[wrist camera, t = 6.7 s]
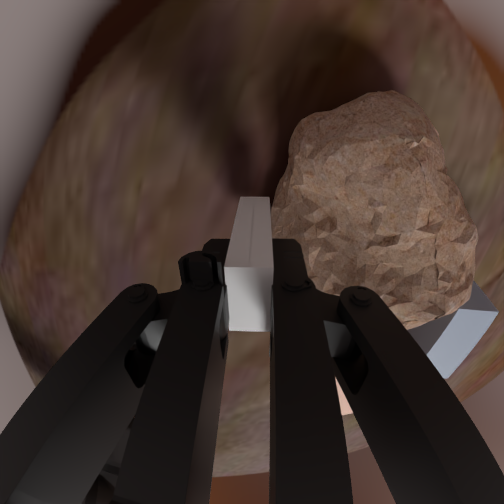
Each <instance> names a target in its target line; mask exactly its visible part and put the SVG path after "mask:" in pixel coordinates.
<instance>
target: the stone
mask: <svg viewBox="0 0 504 504" xmlns="http://www.w3.org/2000/svg"><path fill="white" fill-rule="evenodd" d="M447 170H448V169H447V168H446V166H445V156H444V150H443V147H442V145H441V143H440V139H439V133H438V131H437V130H436V129H435V128H434V126H433V125H432V123H431V121H430V120H429V118H428V117H427V116H426V114H425V113H424V111H423V109H422V108H421V107H420V106H419V105H418V104H417V103H416V102H415V101H413V100H412V99H411V98H408V97H406V96H404V95H401V94H400V93H398V92H396V91H394V90H389V91H385V92H381V91H377V92H369V93H366V94H364V95H362V96H360V97H359V98H357V99H355V100H353V101H350V102H348V103H345V104H343V105H341V106H339V107H337V108H336V109H333V110H331V111H324V112H315V113H313V114H311V115H309V116H307V117H305V118H303V119H301V121H300V122H299V123H298V125H297V126H296V128H295V129H294V132H293V134H292V136H291V139H290V142H289V158H288V166H287V168H286V171H285V173H284V175H283V176H282V178H281V179H280V181H279V184H278V186H277V188H276V192H275V197H274V200H273V204H272V208H271V230H272V238H279V239H295V240H296V241H297V242H298V243H299V244H301V248H302V253H303V256H304V261H305V265H306V269H307V273H308V278H310V279H311V280H312V281H313V282H314V284H315V286H316V289H318V290H320V291H322V292H325V293H328V294H333V295H338V296H340V293H341V291H342V290H343V289H344V288H347V287H350V286H363V287H367V288H369V289H371V290H373V291H374V292H375V293H377V294H378V295H379V296H380V298H381V299H382V300H383V301H384V302H385V304H386V305H387V306H388V307H389V308H390V310H391V311H392V312H393V313H394V314H395V316H396V317H397V318H398V319H399V321H400V322H401V323H402V324H403V326H404V327H405V328H406V329H407V330H408V329H412V328H415V327H418V326H421V325H423V324H425V323H428V322H430V321H432V320H435V319H438V318H440V317H442V316H446V315H449V314H452V313H453V312H455V311H456V310H457V309H458V308H459V307H460V306H462V305H463V304H465V303H466V302H467V301H468V300H469V299H470V296H471V291H472V284H473V280H474V272H475V247H476V244H477V241H478V235H477V229H476V226H475V224H474V222H473V221H472V219H471V217H470V216H469V214H468V212H467V210H466V207H465V204H464V201H463V198H462V195H461V192H460V190H459V188H458V187H457V185H456V184H455V182H454V181H453V179H451V178H450V177H449V176H448V175H447Z"/></svg>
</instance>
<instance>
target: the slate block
mask: <svg viewBox="0 0 504 504" xmlns="http://www.w3.org/2000/svg"><path fill="white" fill-rule="evenodd" d="M498 313H499V311H498V310H497V309H496V308H495V306H494V305H493V304H492V302H491V301H490V300H489V299H488V297H487V296H486V295H485V294H484V292H483V291H482V290H481V289H480V287H479V286H478V285H477V284H476V283H475V281H474V280H473V284H472V291H471V296H470V299H469V300H468V301H467V302H466V303H465V304H463V305H462V306H460V307H459V308H458V309H457V310H456V311H455V312H453V313H452V314H449V315H446V316H442V317H440V318H438V319H435V320H432V321H430V322H428V323H425V324H423V325H421V326H418V327H415V328H412V329H408V330H407V331H408V332H409V333H410V334H411V336H412V337H413V338H414V340H415V341H416V342H417V343H418V345H419V346H420V347H421V349H422V350H423V351H424V353H425V354H426V355H427V357H428V358H429V359H430V361H431V362H432V363H433V365H434V366H435V367H436V369H437V370H438V371H439V373H440V374H441V376H442V377H443V378H448V377H449V376H450V375H451V374H452V373H453V372H454V371H455V369H456V368H457V367H458V366H459V365H460V364H461V362H462V361H463V360H464V359H465V358H466V356H467V355H468V354H469V353H470V351H471V350H472V349H473V348H474V346H475V345H476V344H477V342H478V341H479V340H480V338H481V337H482V336H483V334H484V333H485V332H486V330H487V329H488V327H489V326H490V325H491V323H492V322H493V320H494V319H495V317H496V316H497V314H498Z"/></svg>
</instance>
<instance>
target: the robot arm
mask: <svg viewBox="0 0 504 504" xmlns="http://www.w3.org/2000/svg"><path fill="white" fill-rule="evenodd" d="M178 264H179V270H180V276H181V281H182V285H181V287H180V289H179V290H176V291H172V292H167V293H161V294H158V293H157V290H156V288H155V287H154V286H152V285H150V284H143V283H140V284H135V285H132V286H129V287H127V288H126V289H124V290H123V291H122V292H121V293H120V294H119V295H118V296H117V297H116V298H115V299H114V300H113V301H112V302H111V303H110V304H109V305H108V306H107V307H106V308H105V309H104V310H103V311H102V313H101V314H100V315H99V316H98V317H97V318H96V319H95V320H94V321H93V322H92V323H91V324H90V325H89V326H88V328H87V329H86V330H85V331H84V332H83V333H82V334H81V335H80V336H79V337H78V339H77V340H76V341H75V342H74V343H73V344H72V345H71V346H70V347H69V349H68V350H67V351H66V352H65V353H64V354H63V355H62V357H61V358H60V359H59V360H58V361H57V362H56V364H55V365H54V366H53V367H52V368H51V370H50V371H49V372H48V373H47V374H46V376H45V377H44V378H43V379H42V380H41V382H40V383H39V384H38V385H37V387H36V388H35V389H34V390H33V392H32V393H31V394H30V395H29V397H28V398H27V399H26V400H25V402H24V403H23V404H22V406H21V407H20V408H19V410H18V411H17V412H16V414H15V415H14V416H13V418H12V419H11V420H10V422H9V423H8V424H7V426H6V427H5V429H4V430H3V431H2V433H1V434H0V504H209V499H210V490H211V481H212V472H213V463H214V455H215V446H216V438H217V429H218V421H219V413H220V404H221V396H222V388H223V380H224V372H225V365H226V357H227V349H228V325H229V331H268V332H270V351H269V356H270V477H269V504H353V496H352V487H351V478H350V470H349V461H348V454H347V446H346V439H345V433H344V426H343V420H342V414H341V408H340V402H339V396H338V390H337V385H336V379H337V381H338V383H339V385H340V387H341V389H342V391H343V393H344V395H345V397H346V399H347V401H348V403H349V405H350V407H351V409H352V411H353V414H354V416H355V418H356V420H357V422H358V424H359V426H360V428H361V430H362V432H363V434H364V436H365V438H366V440H367V443H368V445H369V447H370V449H371V451H372V453H373V455H374V457H375V459H376V461H377V463H378V466H379V468H380V470H381V472H382V474H383V476H384V479H385V481H386V483H387V485H388V487H389V489H390V492H391V494H392V496H393V498H394V500H395V502H396V504H504V475H503V473H502V471H501V469H500V468H499V465H498V464H497V462H496V460H495V458H494V456H493V455H492V453H491V451H490V449H489V448H488V446H487V444H486V443H485V441H484V439H483V438H482V436H481V434H480V433H479V431H478V429H477V428H476V426H475V424H474V423H473V421H472V420H471V418H470V417H469V415H468V414H467V412H466V410H465V409H464V407H463V406H462V404H461V403H460V401H459V400H458V398H457V397H456V396H455V394H454V393H453V391H452V390H451V388H450V387H449V385H448V384H447V383H446V381H445V380H444V378H443V377H442V376H441V374H440V373H439V371H438V370H437V369H436V367H435V366H434V365H433V363H432V362H431V361H430V359H429V358H428V357H427V355H426V354H425V353H424V351H423V350H422V349H421V347H420V346H419V345H418V343H417V342H416V341H415V340H414V338H413V337H412V336H411V334H410V333H409V332H408V331H407V329H406V328H405V327H404V326H403V324H402V323H401V322H400V321H399V319H398V318H397V317H396V316H395V314H394V313H393V312H392V311H391V310H390V308H389V307H388V306H387V305H386V304H385V302H384V301H383V300H382V299H381V298H380V296H379V295H378V294H377V293H375V292H374V291H373V290H371V289H369V288H367V287H363V286H350V287H347V288H344V289H343V290H342V291H341V293H340V296H338V295H333V294H328V293H325V292H322V291H320V290H318V289H316V286H315V284H314V282H313V281H312V280H311V279H310V278H308V273H307V269H306V265H305V261H304V256H303V253H302V248H301V244H299V243H298V242H297V241H296V240H295V239H279V238H272V230H271V214H270V199H269V197H240V201H239V205H238V209H237V213H236V217H235V222H234V226H233V230H232V235H231V239H211V240H209V241H208V242H207V243H206V244H204V247H203V249H202V251H195V252H191V253H188V254H186V255H184V256H183V257H181V258H180V260H179V261H178ZM335 377H336V379H335ZM134 415H135V418H134V419H133V417H134Z"/></svg>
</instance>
